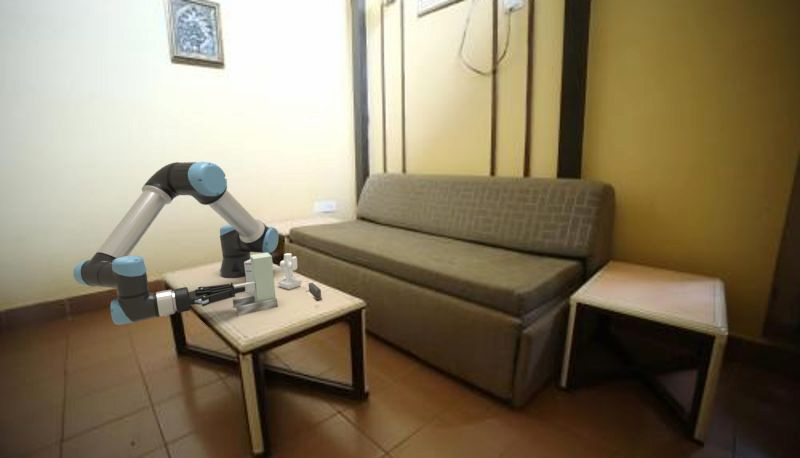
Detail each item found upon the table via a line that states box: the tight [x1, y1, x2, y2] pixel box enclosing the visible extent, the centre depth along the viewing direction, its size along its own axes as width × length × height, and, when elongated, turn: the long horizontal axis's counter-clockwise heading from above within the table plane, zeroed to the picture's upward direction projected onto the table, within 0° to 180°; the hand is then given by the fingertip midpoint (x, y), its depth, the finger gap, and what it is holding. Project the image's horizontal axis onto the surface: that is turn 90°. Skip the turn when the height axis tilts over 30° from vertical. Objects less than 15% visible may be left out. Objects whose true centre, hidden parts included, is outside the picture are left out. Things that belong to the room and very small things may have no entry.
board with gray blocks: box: [232, 282, 323, 317], centre depth 132 cm, size 30×10×4 cm, turn 123°
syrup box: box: [244, 260, 254, 295], centre depth 140 cm, size 6×6×14 cm
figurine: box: [276, 252, 304, 291], centre depth 146 cm, size 7×9×15 cm
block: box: [250, 252, 277, 303], centre depth 128 cm, size 6×6×18 cm
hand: (254, 285), depth 125 cm, fingers closed
